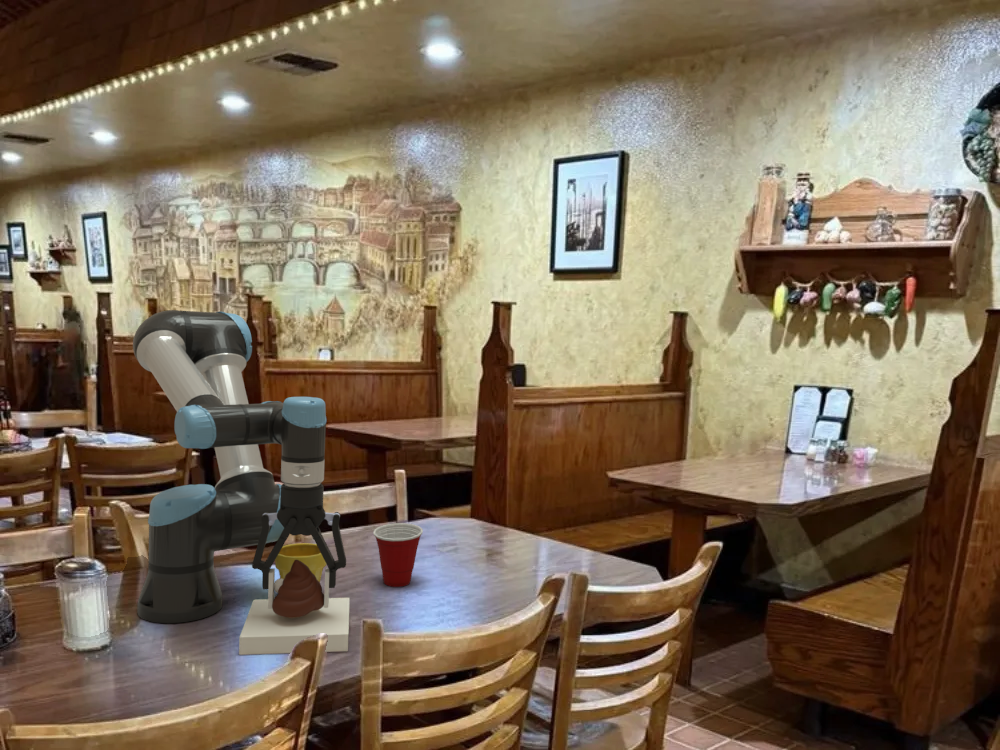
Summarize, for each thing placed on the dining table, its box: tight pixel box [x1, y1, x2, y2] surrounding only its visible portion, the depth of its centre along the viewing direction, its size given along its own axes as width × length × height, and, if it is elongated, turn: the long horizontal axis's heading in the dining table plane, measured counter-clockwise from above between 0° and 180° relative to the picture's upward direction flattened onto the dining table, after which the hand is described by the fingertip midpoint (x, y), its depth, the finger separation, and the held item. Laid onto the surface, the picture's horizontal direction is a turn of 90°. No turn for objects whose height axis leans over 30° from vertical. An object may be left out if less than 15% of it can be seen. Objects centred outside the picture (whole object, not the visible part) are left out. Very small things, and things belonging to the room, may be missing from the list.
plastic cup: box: [372, 522, 424, 588], centre depth 169 cm, size 11×11×12 cm
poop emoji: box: [272, 560, 324, 618], centre depth 140 cm, size 10×8×9 cm
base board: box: [238, 597, 351, 656], centre depth 140 cm, size 18×18×3 cm
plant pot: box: [274, 542, 327, 583], centre depth 158 cm, size 10×10×10 cm
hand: (298, 605), depth 140 cm, fingers closed on poop emoji, 9 cm apart
